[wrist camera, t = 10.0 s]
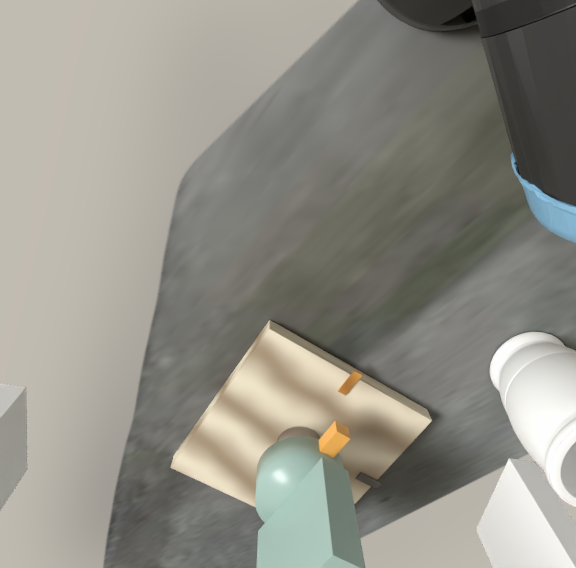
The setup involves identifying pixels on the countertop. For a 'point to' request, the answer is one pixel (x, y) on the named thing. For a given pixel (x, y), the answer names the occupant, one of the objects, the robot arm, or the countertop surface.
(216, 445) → the base
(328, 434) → the mint bar with ball
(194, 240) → the countertop surface
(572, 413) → the jar
